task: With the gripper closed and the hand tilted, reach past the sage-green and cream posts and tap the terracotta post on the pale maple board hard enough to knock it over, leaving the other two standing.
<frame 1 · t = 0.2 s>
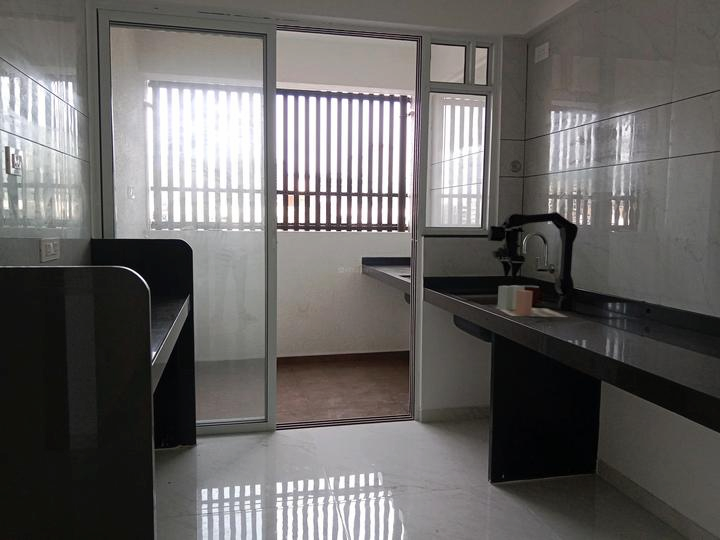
hand: (509, 277, 250), 15 cm above the worktop, tool pointing down, fingers open, 9 cm apart
maple board: (529, 314, 242), on the worktop
mug: (531, 308, 261), on the worktop
cream block: (515, 308, 250), point 1 cm above the worktop, touching maple board
sage block: (504, 309, 247), point 1 cm above the worktop, touching maple board
terracotta block: (523, 314, 232), point 1 cm above the worktop, touching maple board
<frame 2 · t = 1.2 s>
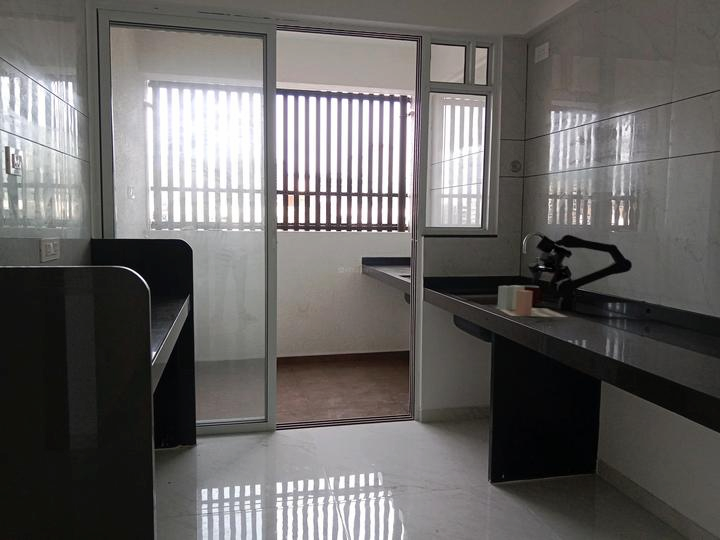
hand: (541, 284, 245), 12 cm above the worktop, tool tilted 45°, fingers open, 8 cm apart
nothing on the worktop moved.
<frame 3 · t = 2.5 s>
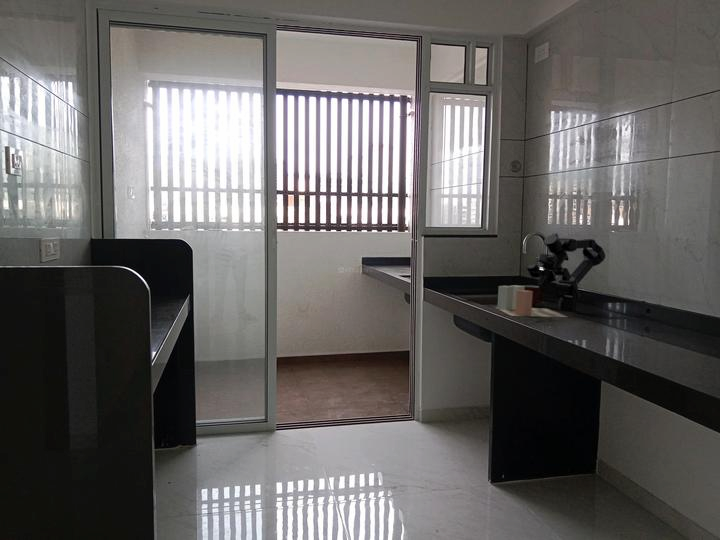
hand: (539, 286, 238), 12 cm above the worktop, tool tilted 45°, fingers closed
nothing on the worktop moved.
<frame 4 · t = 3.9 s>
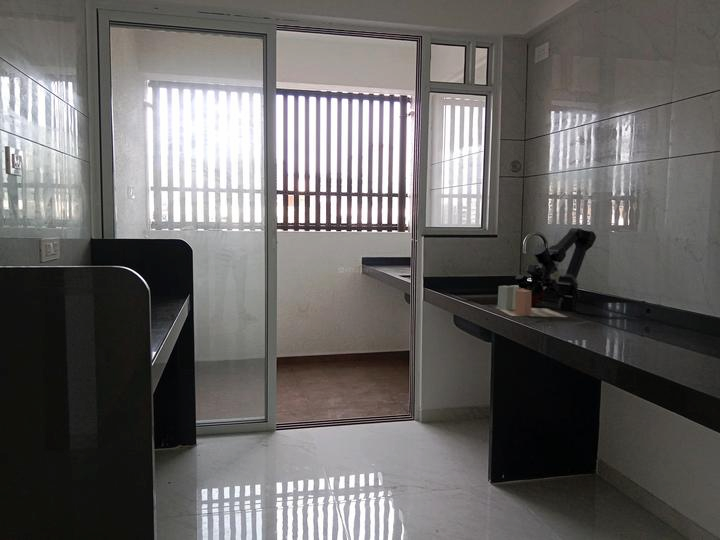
hand: (527, 298, 233), 8 cm above the worktop, tool tilted 45°, fingers closed
nothing on the worktop moved.
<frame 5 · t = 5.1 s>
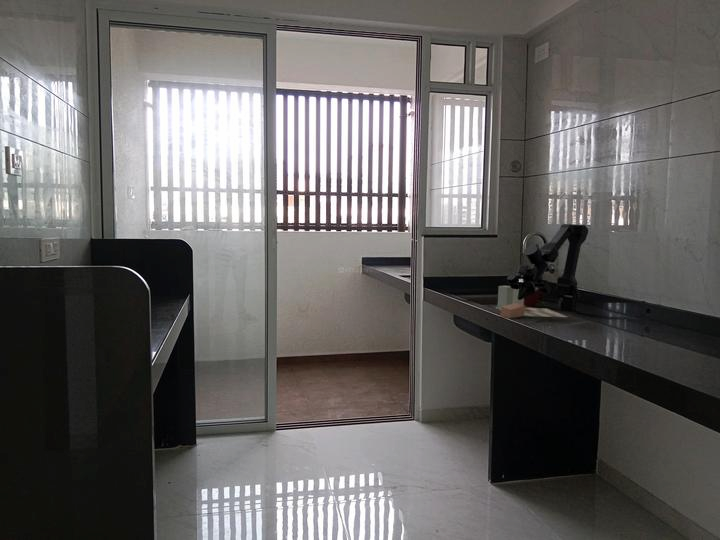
hand: (518, 299, 229), 8 cm above the worktop, tool tilted 45°, fingers closed
terracotta block: (520, 309, 231), point 3 cm above the worktop, tilted 96°, touching maple board
everything else where it was.
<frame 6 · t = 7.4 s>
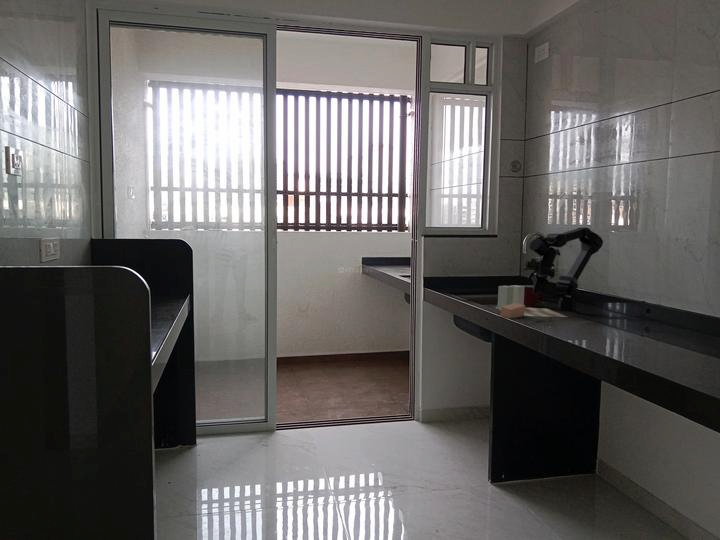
hand: (534, 293, 241), 9 cm above the worktop, tool tilted 25°, fingers closed
nothing on the worktop moved.
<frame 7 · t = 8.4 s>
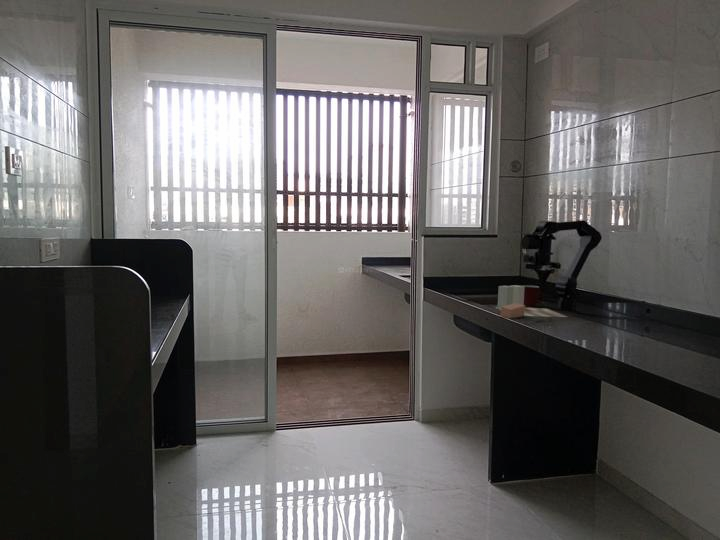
hand: (541, 285, 247), 12 cm above the worktop, tool pointing down, fingers closed
nothing on the worktop moved.
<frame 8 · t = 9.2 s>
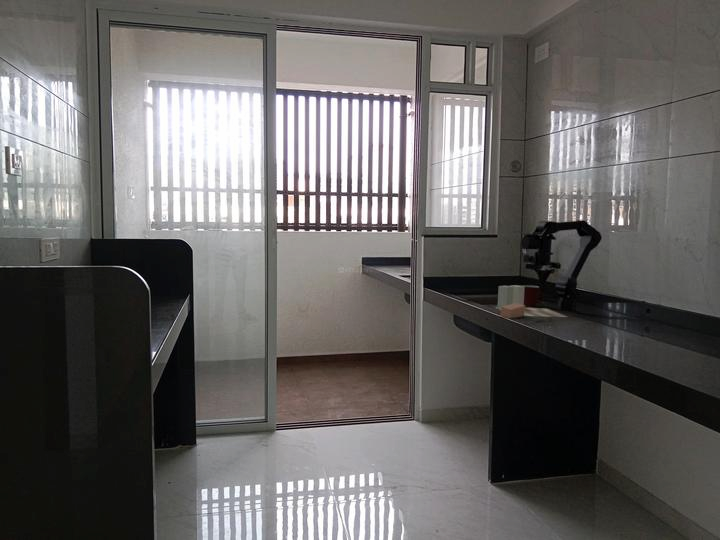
hand: (541, 285, 247), 12 cm above the worktop, tool pointing down, fingers closed
nothing on the worktop moved.
at the end: terracotta block tilted 96°; sage block moved 0.0 cm from its start; cream block moved 0.0 cm from its start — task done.
